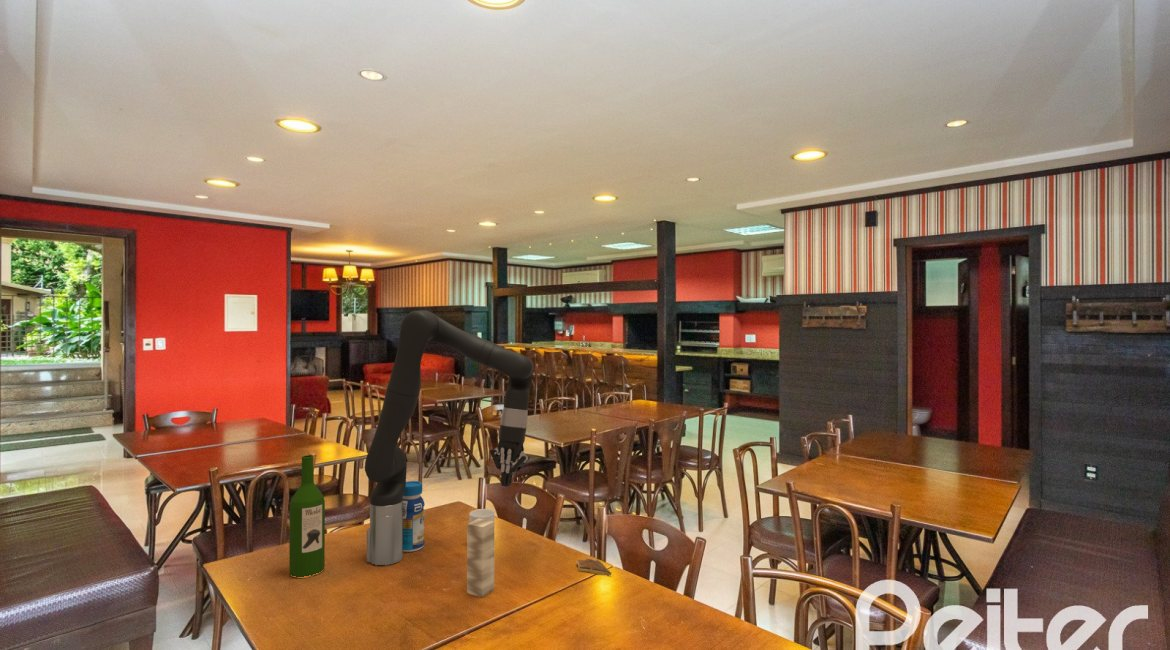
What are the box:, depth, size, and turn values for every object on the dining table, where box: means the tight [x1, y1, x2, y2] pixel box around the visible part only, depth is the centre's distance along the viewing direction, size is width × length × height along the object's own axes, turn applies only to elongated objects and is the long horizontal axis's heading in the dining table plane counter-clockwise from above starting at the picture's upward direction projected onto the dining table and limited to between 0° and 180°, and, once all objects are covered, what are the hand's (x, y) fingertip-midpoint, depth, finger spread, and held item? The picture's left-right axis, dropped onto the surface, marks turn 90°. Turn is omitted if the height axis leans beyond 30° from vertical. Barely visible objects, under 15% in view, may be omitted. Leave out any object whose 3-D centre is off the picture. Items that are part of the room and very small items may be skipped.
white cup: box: [468, 508, 495, 523], centre depth 182 cm, size 8×8×10 cm
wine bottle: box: [288, 454, 326, 577], centre depth 162 cm, size 9×9×32 cm
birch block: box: [466, 518, 495, 598], centre depth 150 cm, size 5×5×18 cm
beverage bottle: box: [403, 480, 426, 553], centre depth 179 cm, size 8×8×20 cm
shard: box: [575, 558, 613, 577], centre depth 163 cm, size 11×8×2 cm
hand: (505, 486), depth 163 cm, fingers closed
